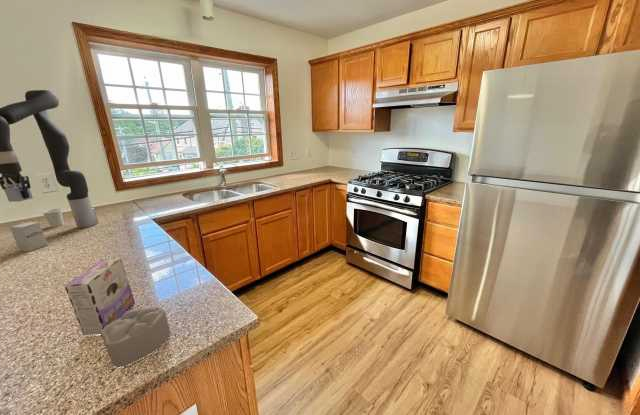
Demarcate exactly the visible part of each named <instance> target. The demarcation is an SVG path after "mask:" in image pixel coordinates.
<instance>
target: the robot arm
mask: <svg viewBox="0 0 640 415" xmlns="http://www.w3.org/2000/svg"><path fill="white" fill-rule="evenodd" d="M24 98H25V100H24V101H18V102H14V103H9V104H7V105H5V106H2V107H0V175H1V176H0V187H1V189H2V190H3V191H4V189H6V188H11V187H18V188H19V190H20V192H21V195H22V197H23V199H26V198H29V194H28V191H27V190H28V189H31V184H30V178H29V176H28V175H22V174H21V172H22V171H23V169H22V167H21V164H20V162H19V159H18V156H17V155H16V153H15V151H14V149H13V146H12V143H11V131H10V130H11V129H10V125H14V124H17V123H19V122H20V121H22V120H24V119H27V118H29V117H31V116H33V117H34V119H35V121H36V123H37V126H38V129H39V131H40V133H41V135H42V136H41V137H42V139H43V142H44V145H45V147H46V150H47V152H48V155H49V157H50V160H51V162H52V163H51V164H52V167H53V171H54V175H55V178H56V181H57V183H58V184H59V185H60V186H61V187H63V188H69V189H70V192H69V193H67V195H66V200H67V201H68V205H69V207H70V208H69V209H70V210H71V213H72V217H73V219H74V222H75V224H76V228H78V229H85V228H90V227H93V226H95V225H97V224H99V219H98V216H97V213H96V211H95V208H94V207H93V206H92V204H91V200H90V197H89V188H88V184H87V180H86V177H85V175H84V173H83V172H81V171H79V170H71V169H70V165H69V163H68V160H69V159H68V158H69V154H70V144H69V140H68V139H67V136H66V134H65V132H64V131H63V130H62V129H61V128H59V127H58V125H56V123H54V122H53V120H52V119H51V118H50V116H49V114H48V110H54V109H55V108H58V106H59V104H60V100H59V97H58V96H57V95H56V94H55V93H54V92H53V91H50V90H46V89H37V90H36V89H34V90H28V91H26V92H25V94H24ZM21 186H22V188H21Z"/></svg>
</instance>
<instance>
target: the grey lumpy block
mask: <svg viewBox="0 0 640 415" xmlns="http://www.w3.org/2000/svg"><path fill="white" fill-rule="evenodd" d="M169 334H171V329H170V326H169V323H168V320H167V316H166V312H165V309H164V308H163V307H160V306H153V307H151V306H150V307H146V308H140V309H138V310H137V309H129V310H128V311H127V312H125V313H124V314H123V315H122V317H121V318H119V319H117V320H115V321H113V322H111V323H110V324H108V325H107V326H106V327H104V328H103V330H102V331H101V336H100V337H101V338H102V341H103V345H104V346H105V349H106V351H107V352H106V353H107V354H108V357H109V356H110V357H111V358H110V357H109V358H110V359H111V362H112V365H114V366H116V367H120V366H121V367H122V366H126V365H128V364H130V363H133V362H134V361H137V360H139V359H141V358H143V357H145V356H147V355H148V354H150V353H152V352H153V351H155V350H156V349H158V348H159V347H160V346H161V345H162V344H163V343H164V342H165V340H166V339H167V338H168V339H169V337H170V335H169ZM168 336H169V337H168ZM168 339H167V340H168ZM167 340H166V341H167ZM165 343H166V342H165ZM165 343H164V344H165ZM164 344H163V345H164ZM163 345H162V346H163ZM162 346H161V347H162ZM161 347H160V348H161ZM160 348H159V349H160ZM159 349H158V350H159ZM155 352H156V351H155ZM152 354H153V353H152ZM147 357H148V356H147ZM114 366H113V367H114Z"/></svg>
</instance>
